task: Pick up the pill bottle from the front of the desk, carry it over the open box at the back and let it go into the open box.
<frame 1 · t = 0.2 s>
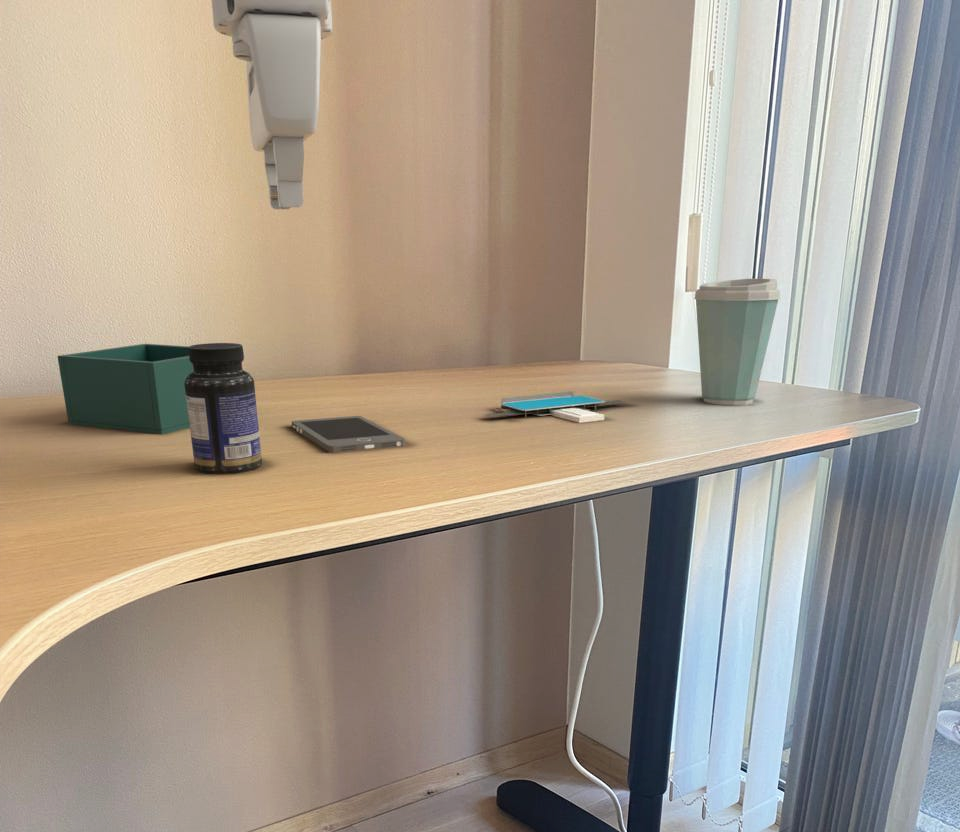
hand: (286, 208, 77), 22 cm above the table, tool pointing down, fingers open, 8 cm apart
smartphone: (345, 438, 102), on the table
open box: (157, 420, 111), on the table
pill bottle: (228, 471, 89), on the table
teal tabletop platform: (561, 416, 115), on the table
disposable coffee cup: (725, 403, 124), on the table
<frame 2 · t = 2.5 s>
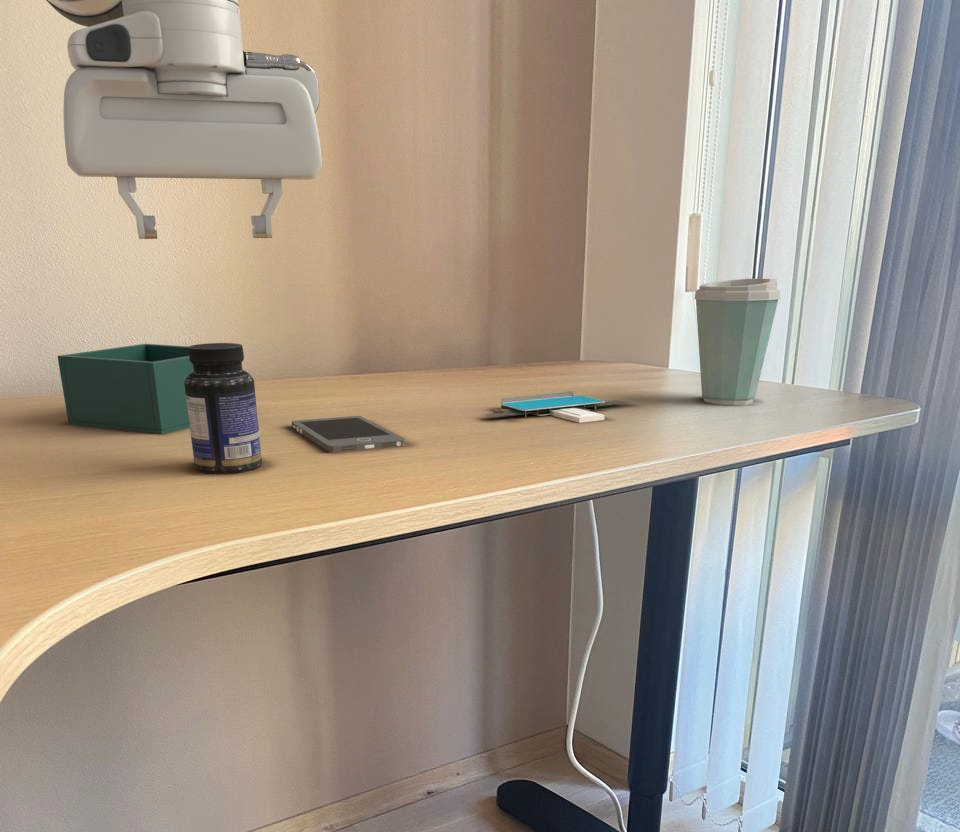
hand: (206, 238, 81), 20 cm above the table, tool pointing down, fingers open, 8 cm apart
nothing on the table moved.
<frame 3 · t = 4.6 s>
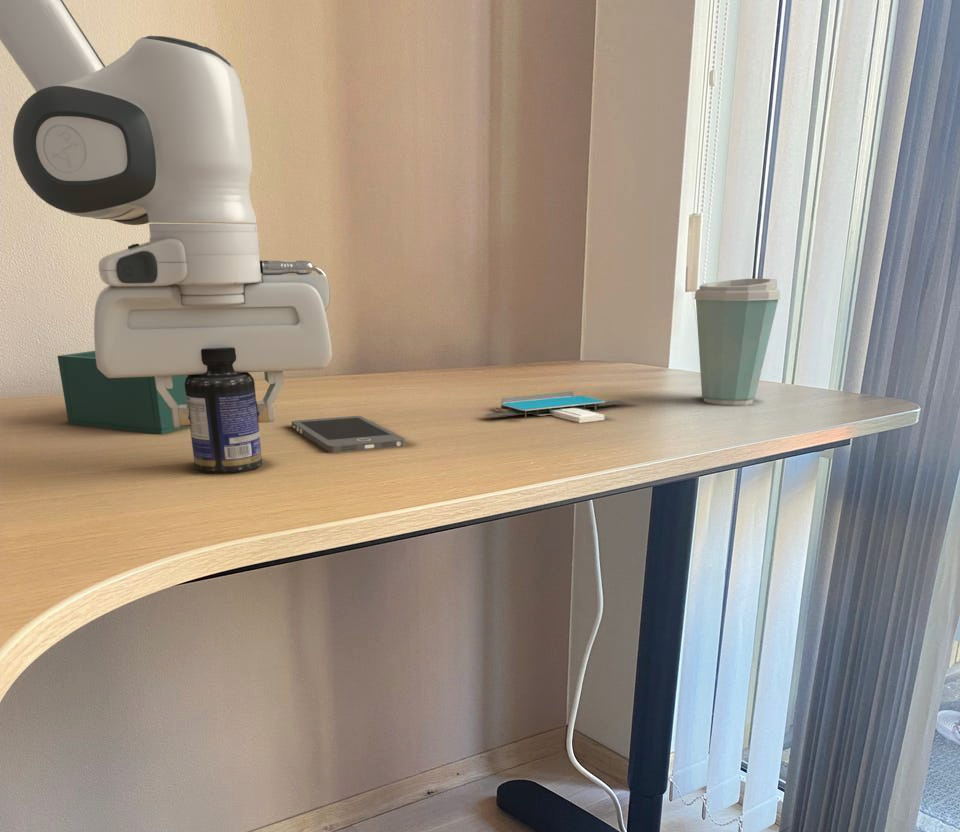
hand: (223, 424, 87), 4 cm above the table, tool pointing down, fingers closed on pill bottle, 6 cm apart
pill bottle: (229, 471, 89), on the table, touching gripper
everything else where it was.
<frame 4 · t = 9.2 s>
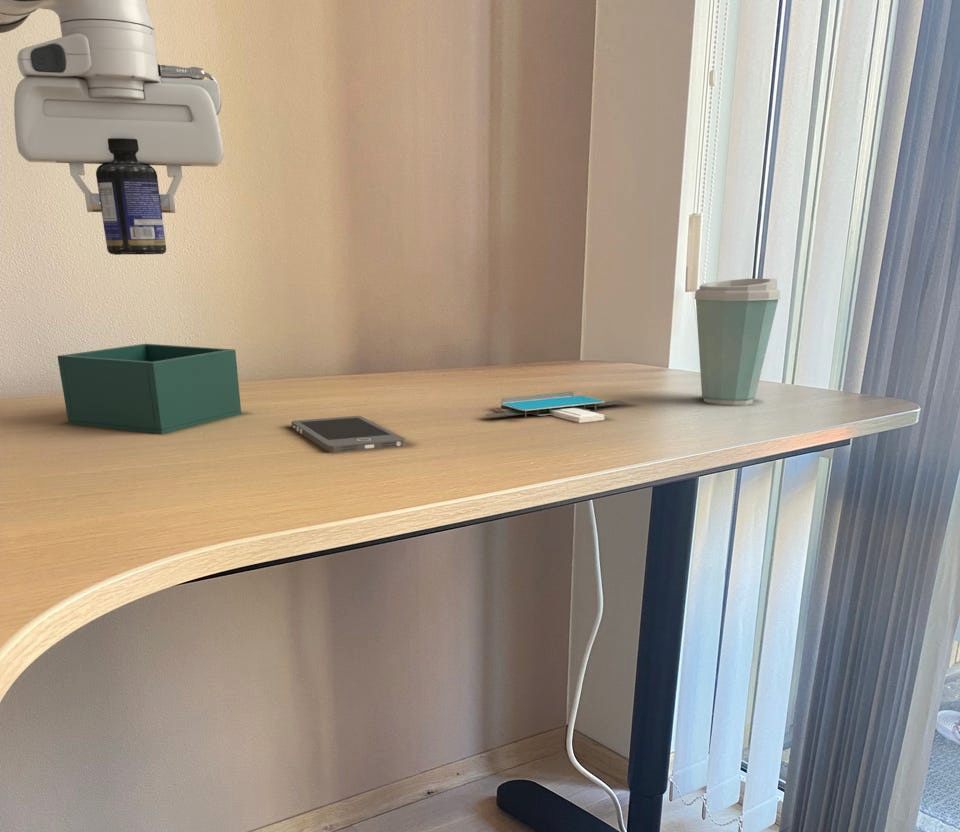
hand: (131, 212, 102), 22 cm above the table, tool pointing down, fingers closed on pill bottle, 6 cm apart
pill bottle: (137, 256, 103), point 18 cm above the table, touching gripper
everything else where it was.
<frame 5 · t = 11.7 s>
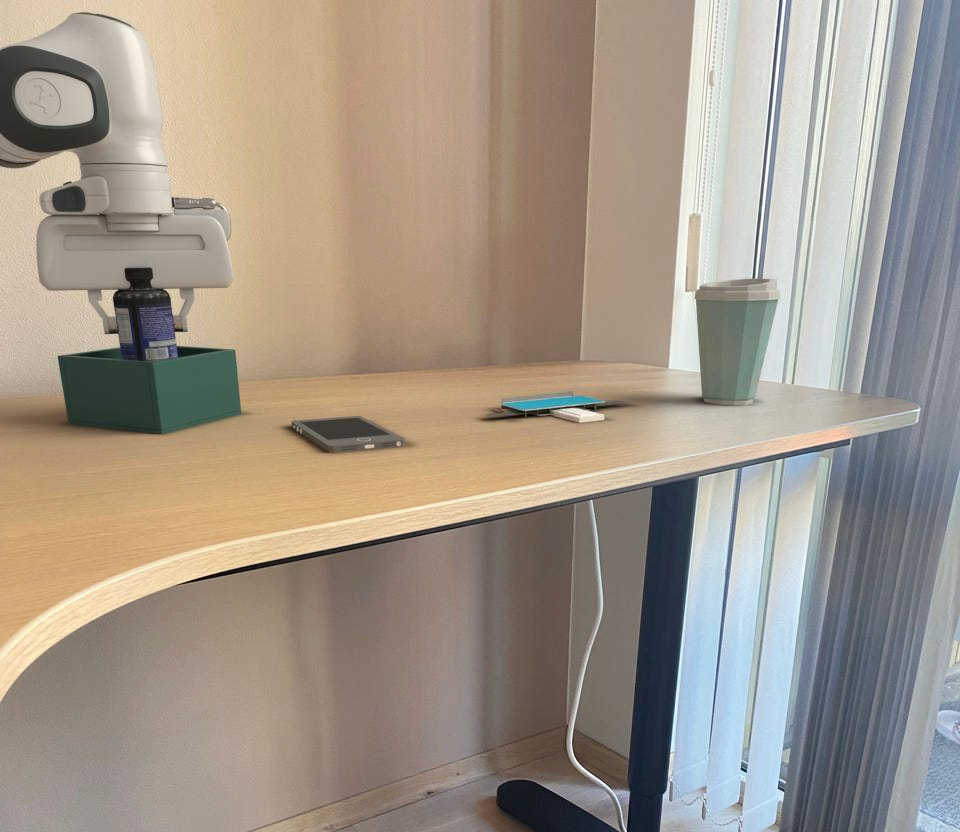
hand: (146, 332, 107), 10 cm above the table, tool pointing down, fingers closed on pill bottle, 6 cm apart
pill bottle: (151, 372, 109), point 5 cm above the table, touching gripper
everything else where it was.
when the fingers open (5 cm above the table, at t = 13.6 s): pill bottle stays where it is, resting on open box.
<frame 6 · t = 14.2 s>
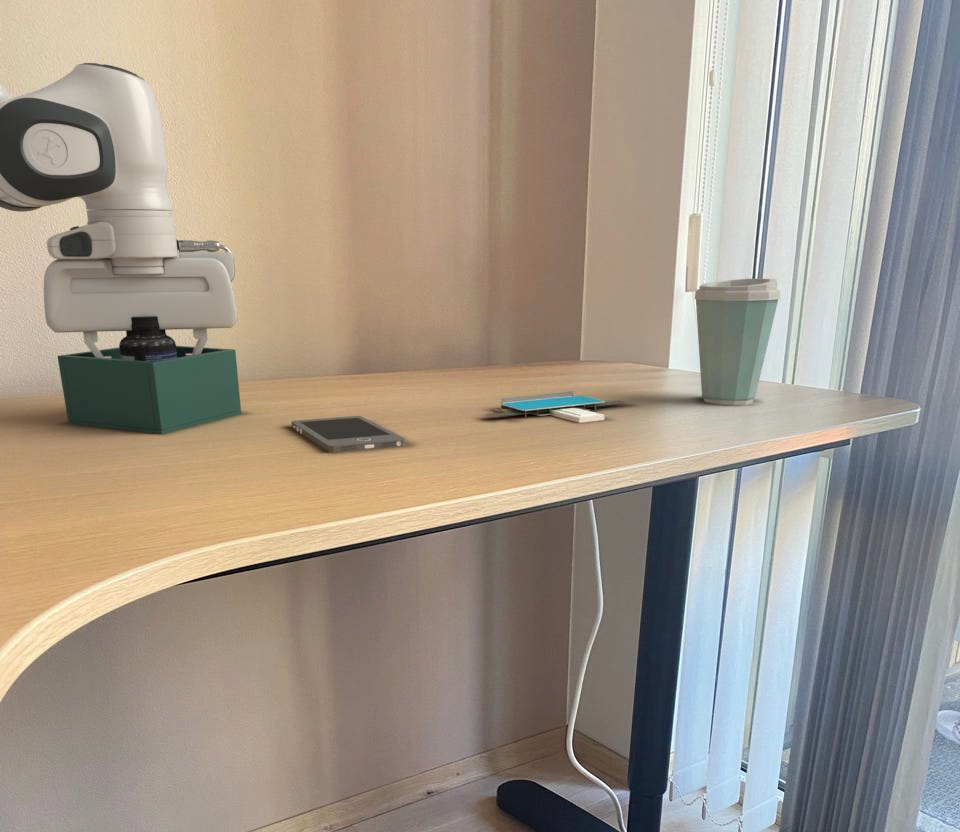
hand: (151, 371, 109), 5 cm above the table, tool pointing down, fingers open, 8 cm apart
pill bottle: (157, 416, 111), resting on open box
everything else where it was.
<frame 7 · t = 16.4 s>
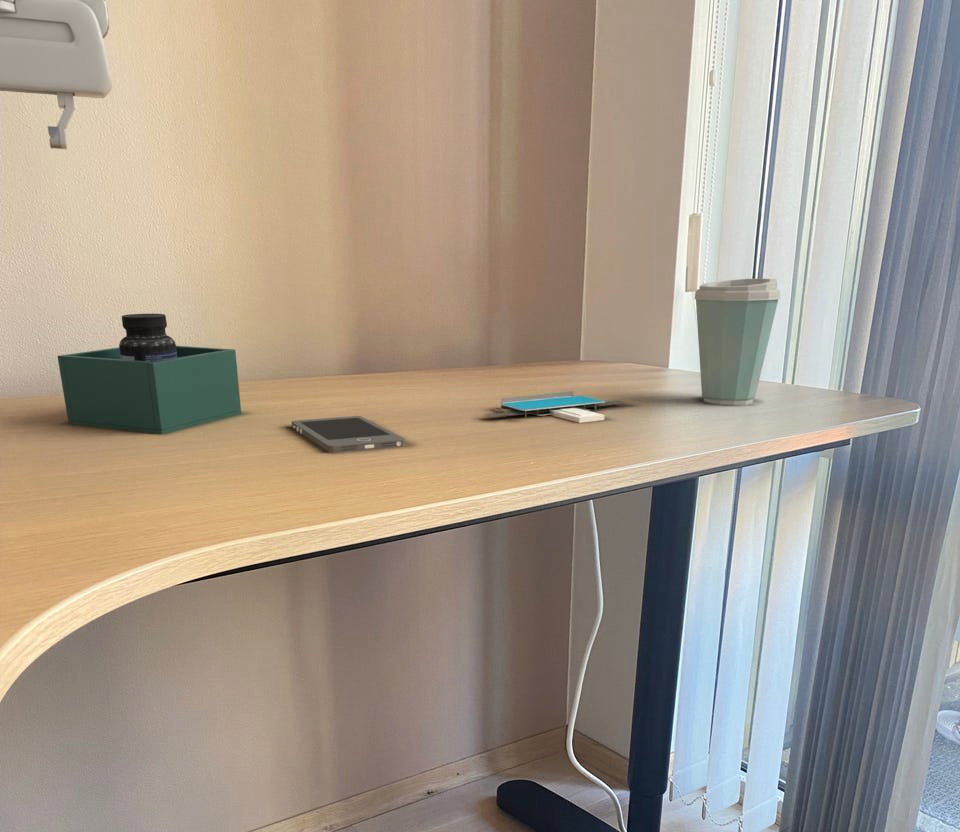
hand: (4, 145, 89), 28 cm above the table, tool pointing down, fingers open, 8 cm apart
nothing on the table moved.
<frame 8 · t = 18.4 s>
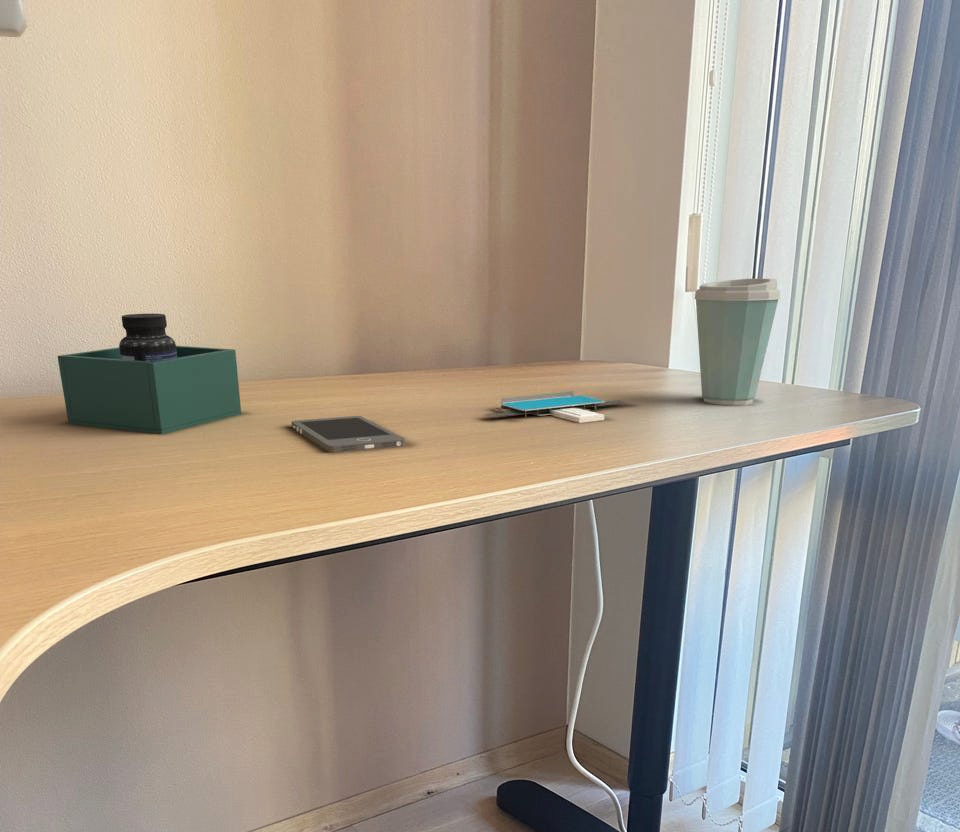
nothing on the table moved.
at the end: pill bottle inside the target area in the open box (0.0 cm from its centre), point 0.4 cm above the open box's base; the gripper is holding nothing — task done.
